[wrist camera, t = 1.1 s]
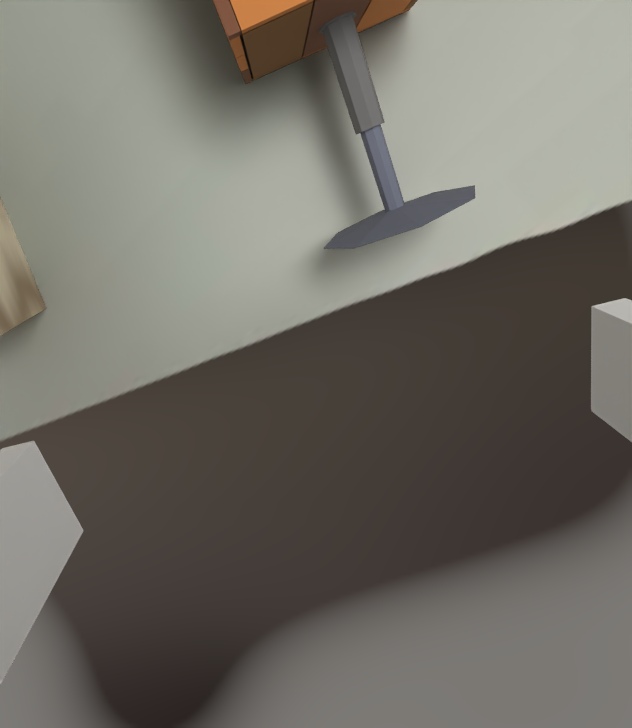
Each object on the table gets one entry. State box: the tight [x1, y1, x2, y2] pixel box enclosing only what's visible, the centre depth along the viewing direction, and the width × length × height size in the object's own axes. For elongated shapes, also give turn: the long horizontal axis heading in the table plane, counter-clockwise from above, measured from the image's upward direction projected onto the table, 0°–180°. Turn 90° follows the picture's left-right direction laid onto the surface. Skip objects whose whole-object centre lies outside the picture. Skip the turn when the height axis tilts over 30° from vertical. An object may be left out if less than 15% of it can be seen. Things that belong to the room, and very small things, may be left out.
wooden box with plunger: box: [213, 0, 475, 249], centre depth 21 cm, size 11×20×14 cm, turn 22°
